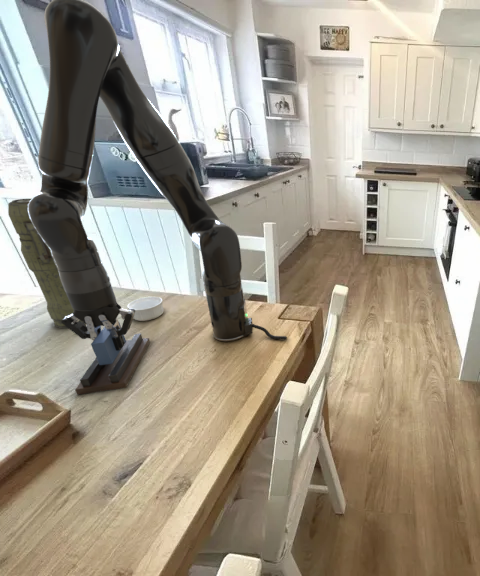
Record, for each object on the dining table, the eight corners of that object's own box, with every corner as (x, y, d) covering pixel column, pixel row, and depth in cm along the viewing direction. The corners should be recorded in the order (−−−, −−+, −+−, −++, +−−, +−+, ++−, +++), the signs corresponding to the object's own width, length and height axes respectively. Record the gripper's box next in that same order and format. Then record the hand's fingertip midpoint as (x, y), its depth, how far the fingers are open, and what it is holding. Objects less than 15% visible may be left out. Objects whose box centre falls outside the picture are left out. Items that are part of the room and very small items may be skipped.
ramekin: (123, 319, 98) (119, 307, 96) (148, 305, 105) (145, 294, 104) (148, 324, 96) (144, 311, 94) (172, 310, 104) (169, 298, 102)
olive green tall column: (91, 307, 102) (48, 194, 87) (97, 323, 95) (51, 203, 80) (52, 316, 97) (-1, 197, 81) (56, 334, 89) (-2, 206, 74)
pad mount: (150, 342, 89) (146, 331, 87) (126, 387, 73) (121, 375, 72) (110, 346, 86) (106, 335, 84) (77, 394, 71) (71, 382, 69)
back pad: (126, 341, 82) (119, 321, 80) (112, 363, 75) (103, 342, 72) (115, 342, 82) (107, 322, 79) (99, 365, 74) (90, 344, 71)
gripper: (36, 295, 65) (68, 363, 72) (119, 289, 69) (141, 354, 77) (57, 280, 71) (84, 344, 79) (131, 275, 75) (150, 336, 83)
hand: (112, 349), depth 78 cm, fingers closed on back pad, 2 cm apart
